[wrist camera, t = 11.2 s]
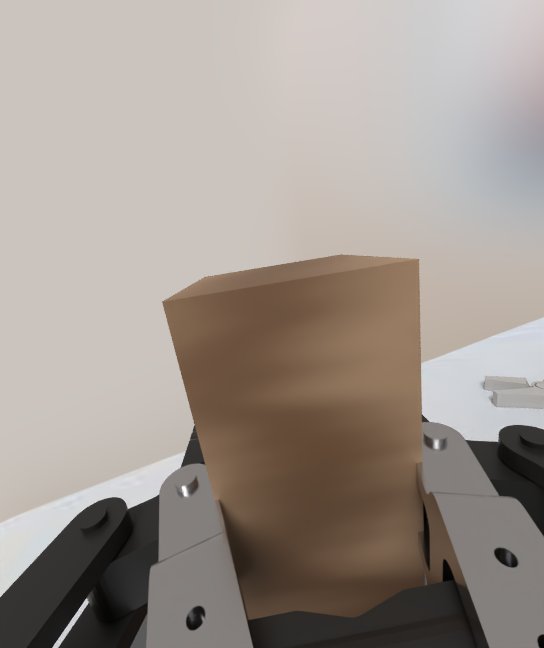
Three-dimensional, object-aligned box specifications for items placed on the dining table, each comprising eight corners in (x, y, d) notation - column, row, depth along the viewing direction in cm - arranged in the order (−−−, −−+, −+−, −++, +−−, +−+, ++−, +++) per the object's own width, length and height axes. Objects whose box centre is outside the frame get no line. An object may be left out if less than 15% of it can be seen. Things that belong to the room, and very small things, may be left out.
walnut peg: (368, 564, 13) (340, 254, 9) (427, 723, 9) (418, 259, 5) (271, 583, 13) (204, 276, 9) (281, 754, 8) (162, 301, 5)
